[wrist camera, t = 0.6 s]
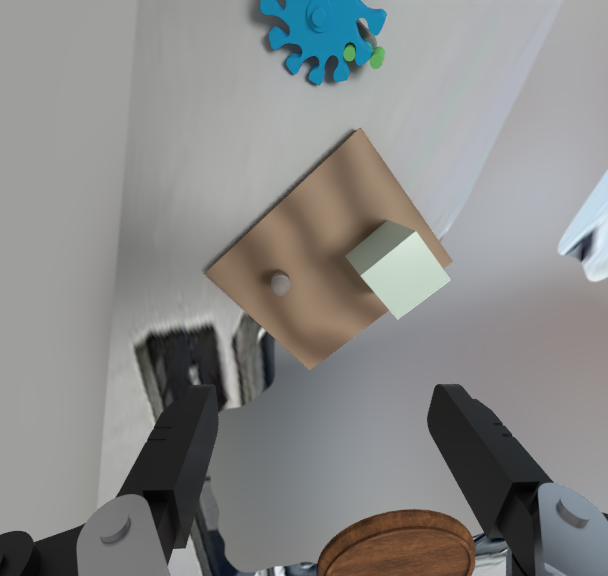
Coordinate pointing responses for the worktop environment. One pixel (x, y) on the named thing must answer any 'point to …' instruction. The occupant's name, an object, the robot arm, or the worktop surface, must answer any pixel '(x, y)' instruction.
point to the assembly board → (320, 253)
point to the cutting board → (400, 546)
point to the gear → (327, 33)
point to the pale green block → (398, 267)
